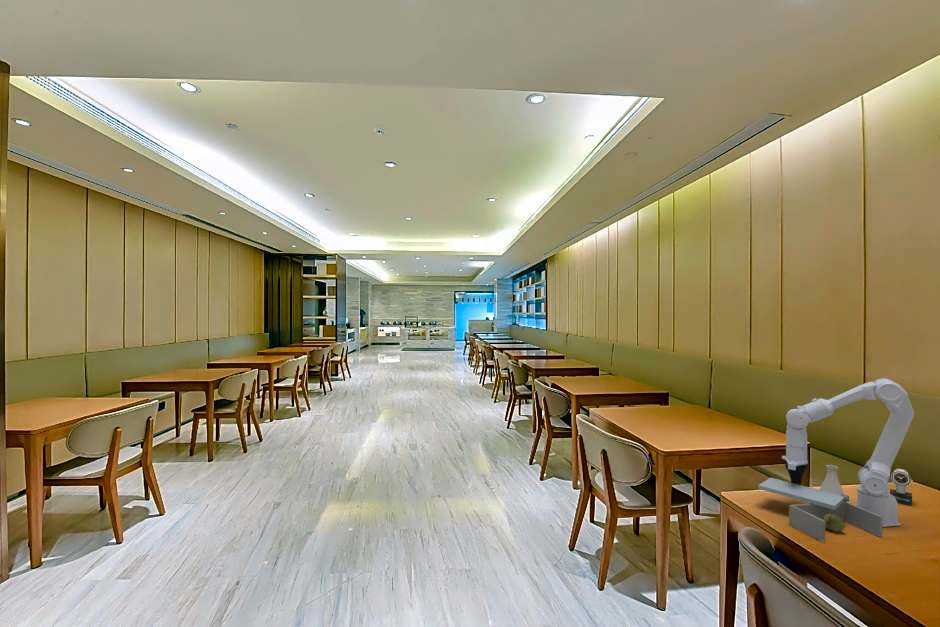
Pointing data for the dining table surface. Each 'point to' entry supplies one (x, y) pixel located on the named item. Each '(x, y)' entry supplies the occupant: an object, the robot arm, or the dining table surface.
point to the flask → (831, 481)
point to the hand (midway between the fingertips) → (796, 486)
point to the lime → (834, 522)
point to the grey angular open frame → (813, 515)
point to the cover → (803, 493)
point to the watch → (901, 487)
